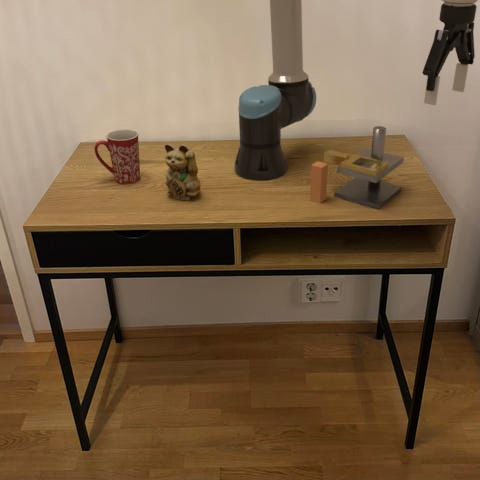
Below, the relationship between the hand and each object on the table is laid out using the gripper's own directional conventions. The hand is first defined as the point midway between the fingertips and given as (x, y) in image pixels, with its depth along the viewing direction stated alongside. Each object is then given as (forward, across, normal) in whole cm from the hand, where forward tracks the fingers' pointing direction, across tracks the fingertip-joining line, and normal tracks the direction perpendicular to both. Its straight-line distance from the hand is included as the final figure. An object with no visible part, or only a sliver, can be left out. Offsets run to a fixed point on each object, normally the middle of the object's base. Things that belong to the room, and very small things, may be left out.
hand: (444, 97), depth 142 cm
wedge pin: (+27, -21, +20) cm, 40 cm away
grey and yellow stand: (+27, -10, +15) cm, 32 cm away
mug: (+27, -48, +70) cm, 90 cm away
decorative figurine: (+27, -43, +49) cm, 70 cm away
